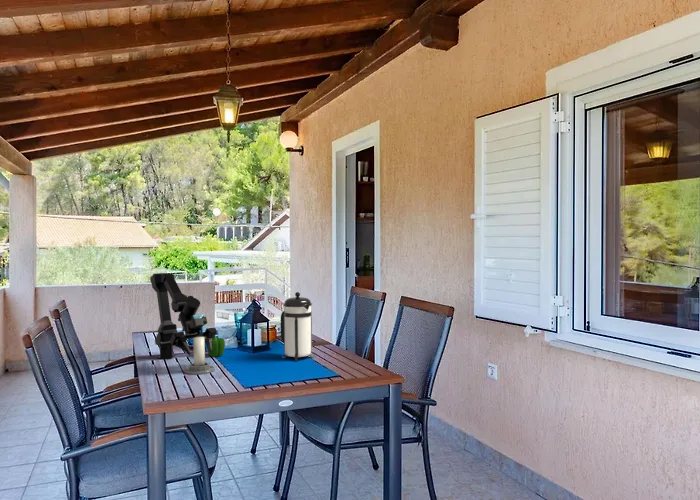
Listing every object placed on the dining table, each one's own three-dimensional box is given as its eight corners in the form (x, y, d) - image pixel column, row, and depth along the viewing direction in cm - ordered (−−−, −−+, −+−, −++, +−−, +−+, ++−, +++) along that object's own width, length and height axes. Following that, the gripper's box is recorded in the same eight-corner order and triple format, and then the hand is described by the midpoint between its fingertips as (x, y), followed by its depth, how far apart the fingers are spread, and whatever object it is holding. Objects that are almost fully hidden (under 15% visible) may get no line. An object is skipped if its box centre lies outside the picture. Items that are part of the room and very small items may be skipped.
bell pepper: (221, 353, 253) (221, 332, 252) (227, 356, 246) (227, 334, 246) (204, 355, 248) (203, 334, 248) (209, 358, 241) (209, 336, 241)
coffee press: (317, 353, 249) (316, 290, 249) (311, 361, 233) (310, 293, 233) (281, 353, 251) (280, 290, 250) (273, 361, 235) (272, 293, 234)
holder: (189, 367, 225) (189, 361, 225) (217, 367, 225) (217, 361, 225) (180, 374, 213) (180, 368, 213) (209, 374, 213) (209, 368, 213)
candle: (198, 367, 222) (198, 336, 222) (207, 368, 220) (206, 337, 220) (191, 369, 218) (191, 338, 218) (200, 370, 216) (199, 338, 216)
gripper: (172, 313, 215) (185, 344, 207) (214, 308, 227) (227, 337, 219) (165, 329, 221) (176, 360, 213) (206, 324, 234) (218, 353, 226)
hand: (200, 352), depth 218 cm, fingers open, 9 cm apart
